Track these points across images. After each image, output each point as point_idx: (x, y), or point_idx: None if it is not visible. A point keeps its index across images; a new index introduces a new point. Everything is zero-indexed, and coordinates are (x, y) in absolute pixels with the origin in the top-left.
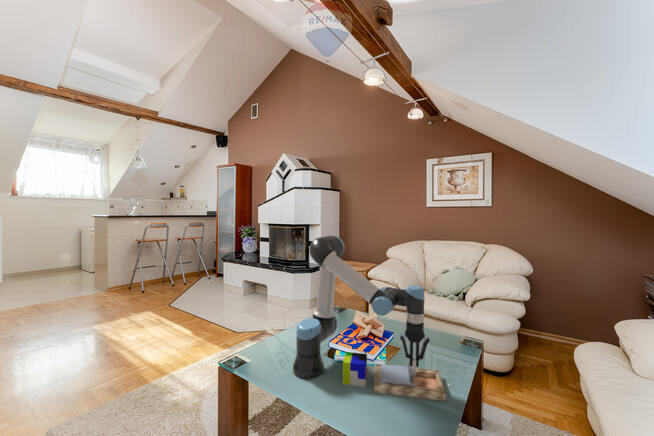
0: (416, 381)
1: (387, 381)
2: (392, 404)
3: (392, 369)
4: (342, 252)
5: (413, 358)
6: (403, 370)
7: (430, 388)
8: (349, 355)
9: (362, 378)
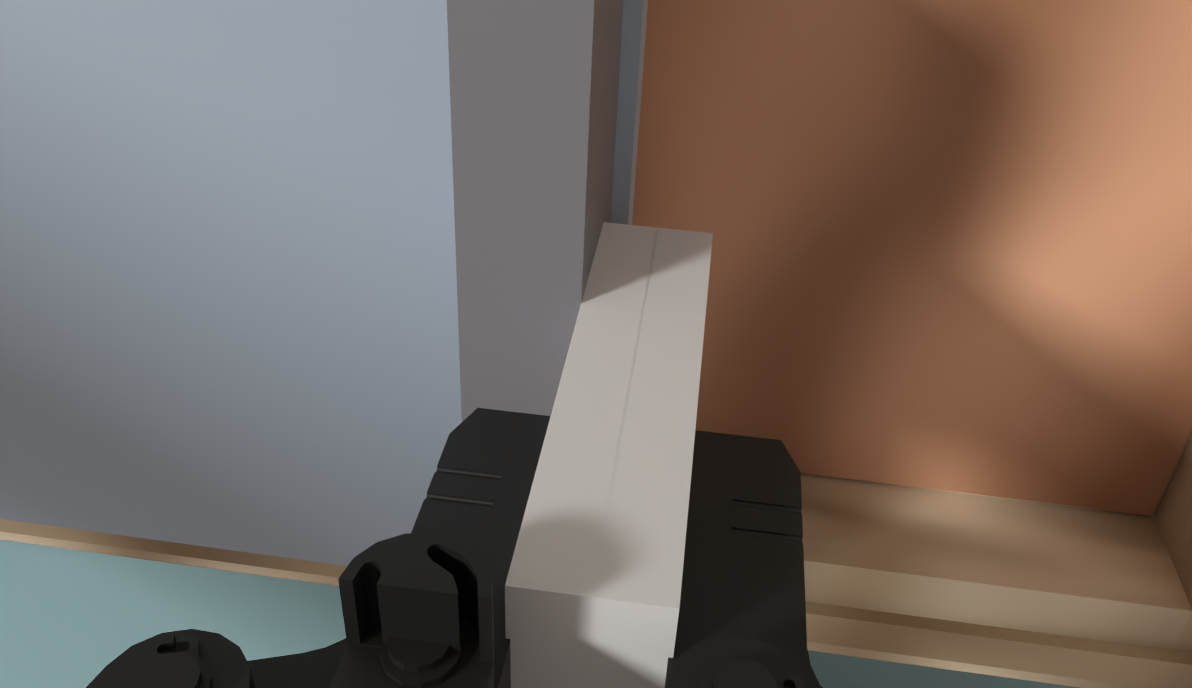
0: (766, 82)
1: (41, 517)
2: (277, 656)
3: (7, 20)
4: None
5: (558, 667)
6: (352, 39)
7: (965, 585)
8: None
9: None
